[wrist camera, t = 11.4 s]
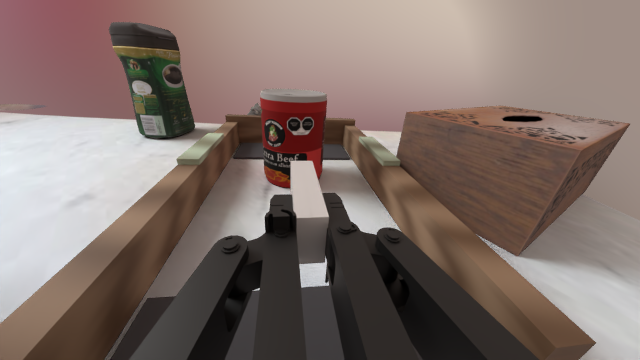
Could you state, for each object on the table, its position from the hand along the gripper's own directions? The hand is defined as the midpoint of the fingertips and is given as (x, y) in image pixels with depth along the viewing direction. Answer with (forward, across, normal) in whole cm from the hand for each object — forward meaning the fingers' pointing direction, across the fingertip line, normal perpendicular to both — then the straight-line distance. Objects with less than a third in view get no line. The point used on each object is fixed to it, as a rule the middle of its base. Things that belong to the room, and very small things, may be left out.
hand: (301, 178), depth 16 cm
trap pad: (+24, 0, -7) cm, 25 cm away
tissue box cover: (+10, +28, -7) cm, 30 cm away
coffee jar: (+35, -24, -7) cm, 43 cm away
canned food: (+14, 0, -7) cm, 16 cm away
